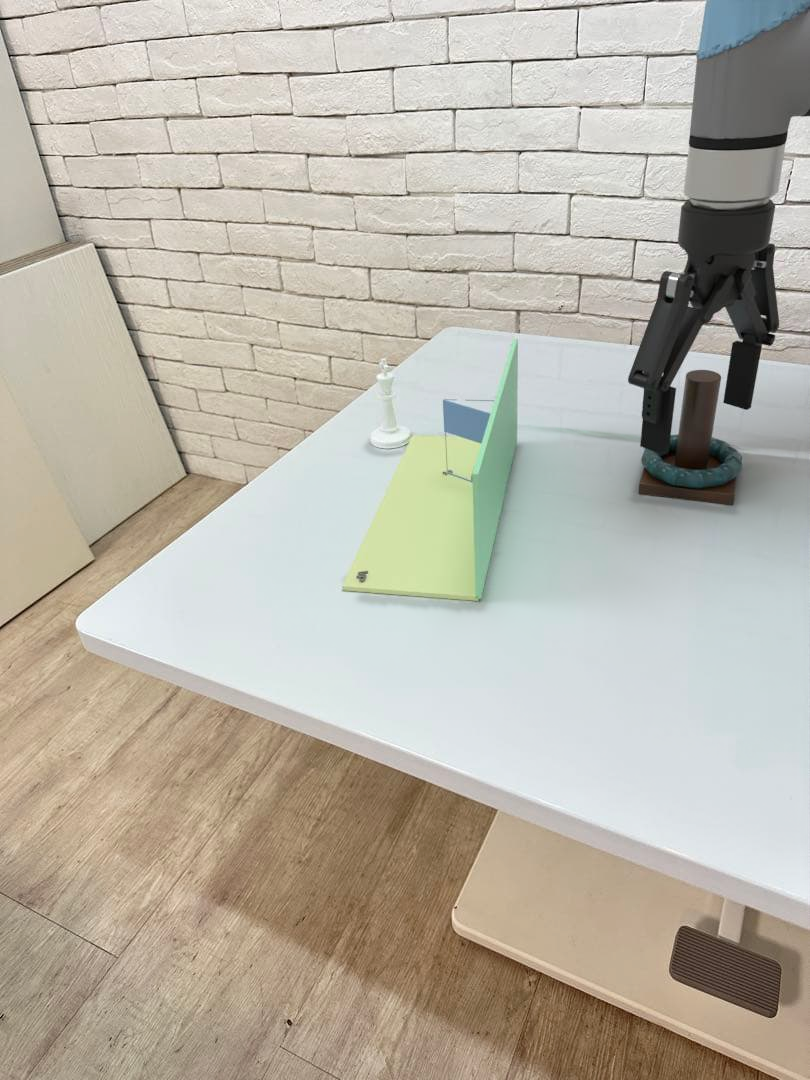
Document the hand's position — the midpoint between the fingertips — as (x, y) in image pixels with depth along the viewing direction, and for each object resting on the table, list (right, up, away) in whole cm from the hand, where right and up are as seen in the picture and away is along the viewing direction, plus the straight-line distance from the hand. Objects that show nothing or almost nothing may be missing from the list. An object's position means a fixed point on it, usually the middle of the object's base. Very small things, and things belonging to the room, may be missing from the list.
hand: (697, 426), depth 79 cm
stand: (0, -5, +3) cm, 6 cm away
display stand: (-25, -8, +2) cm, 27 cm away
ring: (0, -3, +2) cm, 4 cm away
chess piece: (-31, +1, +16) cm, 35 cm away
